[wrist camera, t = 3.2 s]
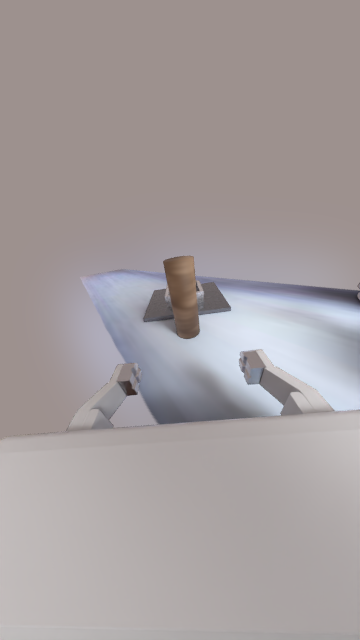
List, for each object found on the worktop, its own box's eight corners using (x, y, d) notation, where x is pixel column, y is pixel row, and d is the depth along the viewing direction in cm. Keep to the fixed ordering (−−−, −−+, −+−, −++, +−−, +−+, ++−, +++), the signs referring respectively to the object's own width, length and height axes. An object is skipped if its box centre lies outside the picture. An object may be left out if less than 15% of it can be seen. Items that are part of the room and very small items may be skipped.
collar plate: (213, 284, 42) (213, 273, 40) (230, 310, 28) (231, 295, 27) (154, 293, 43) (152, 282, 41) (144, 321, 29) (139, 308, 28)
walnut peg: (198, 323, 26) (192, 254, 20) (201, 337, 23) (195, 259, 16) (177, 326, 27) (164, 258, 20) (177, 340, 23) (161, 264, 17)
